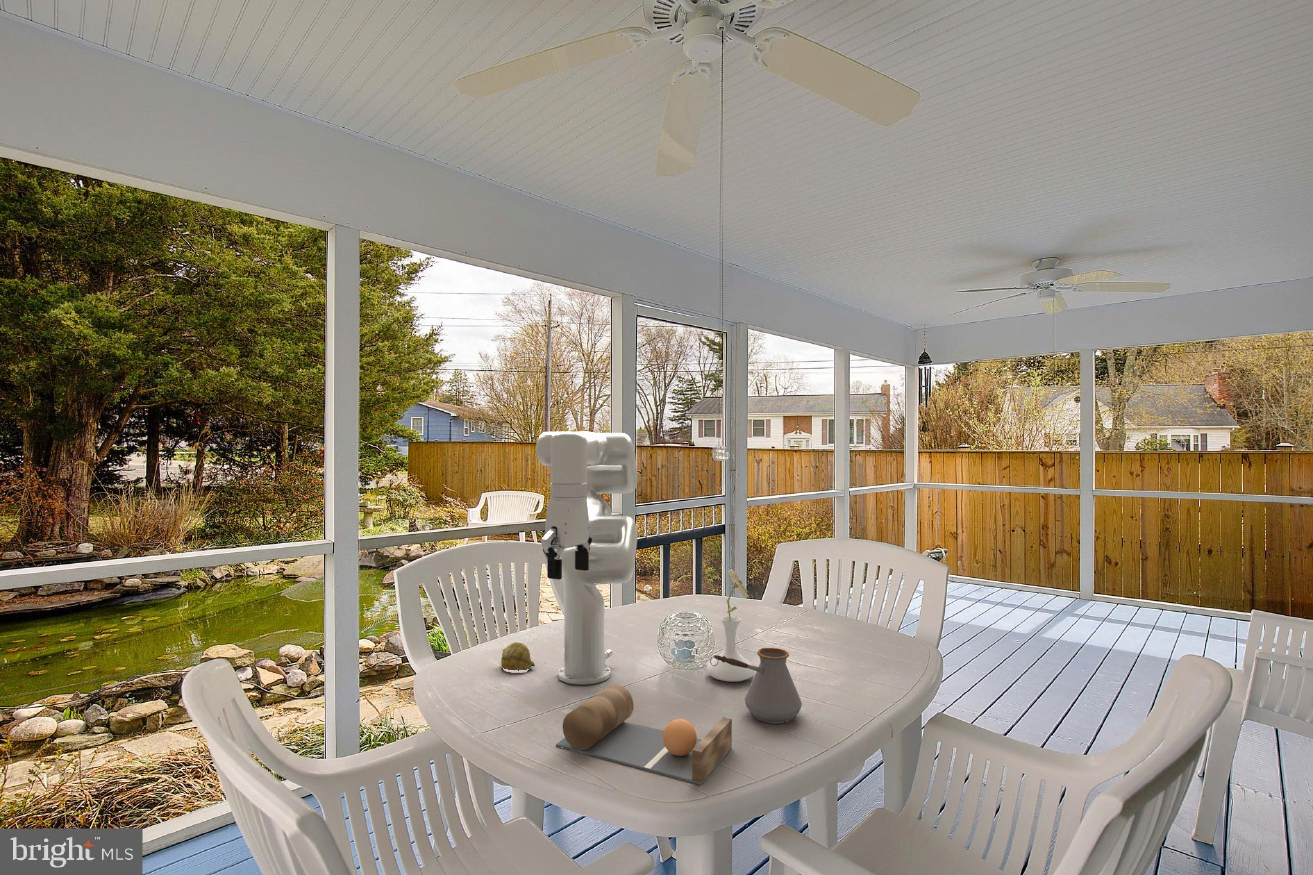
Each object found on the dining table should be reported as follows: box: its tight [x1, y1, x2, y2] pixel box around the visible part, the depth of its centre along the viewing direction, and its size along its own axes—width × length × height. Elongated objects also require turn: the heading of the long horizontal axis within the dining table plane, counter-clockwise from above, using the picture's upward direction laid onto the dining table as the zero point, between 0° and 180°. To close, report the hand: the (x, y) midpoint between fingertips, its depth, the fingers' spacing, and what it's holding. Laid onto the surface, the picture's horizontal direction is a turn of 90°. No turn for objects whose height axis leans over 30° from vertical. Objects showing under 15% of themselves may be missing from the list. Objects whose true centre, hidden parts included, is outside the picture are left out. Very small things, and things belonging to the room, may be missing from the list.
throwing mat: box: [555, 721, 733, 786], centre depth 119 cm, size 14×29×1 cm, turn 63°
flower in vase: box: [706, 568, 756, 683], centre depth 154 cm, size 13×11×25 cm
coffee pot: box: [709, 647, 803, 724], centre depth 130 cm, size 21×12×15 cm, turn 123°
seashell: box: [500, 642, 536, 671], centre depth 160 cm, size 10×7×8 cm
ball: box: [663, 718, 698, 756], centre depth 115 cm, size 6×6×6 cm
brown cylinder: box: [562, 684, 634, 751], centre depth 123 cm, size 14×7×7 cm, turn 153°
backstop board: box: [692, 716, 733, 782], centre depth 112 cm, size 14×2×5 cm, turn 153°
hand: (568, 574), depth 135 cm, fingers open, 9 cm apart
